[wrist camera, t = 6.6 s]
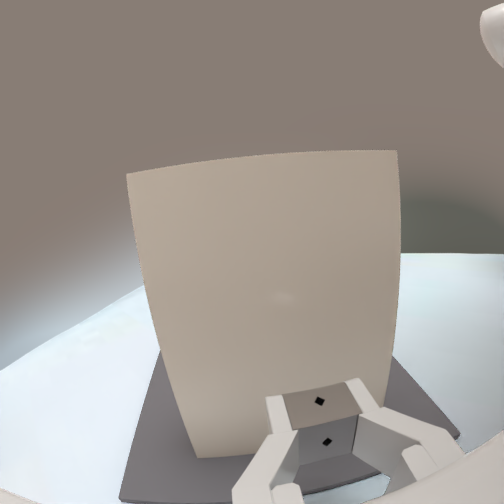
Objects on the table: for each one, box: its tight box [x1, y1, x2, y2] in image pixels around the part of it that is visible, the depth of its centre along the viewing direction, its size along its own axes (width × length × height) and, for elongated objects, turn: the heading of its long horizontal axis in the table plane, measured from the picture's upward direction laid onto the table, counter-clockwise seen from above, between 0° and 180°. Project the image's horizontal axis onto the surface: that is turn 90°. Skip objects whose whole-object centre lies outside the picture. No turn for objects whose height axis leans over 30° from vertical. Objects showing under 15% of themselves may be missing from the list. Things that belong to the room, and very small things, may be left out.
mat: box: [119, 350, 460, 504], centre depth 20 cm, size 20×18×1 cm
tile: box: [126, 150, 401, 458], centre depth 13 cm, size 2×10×14 cm, turn 96°
